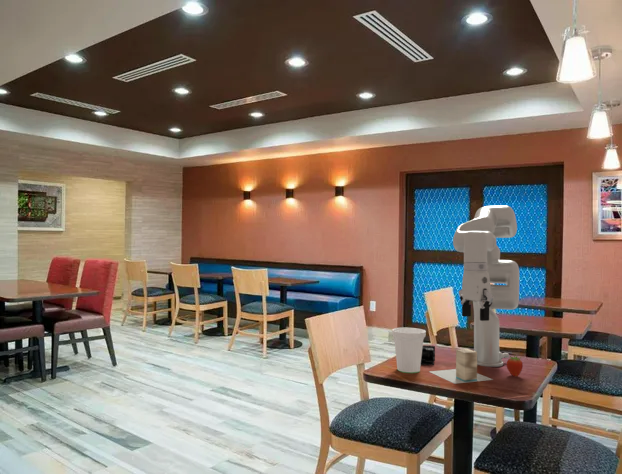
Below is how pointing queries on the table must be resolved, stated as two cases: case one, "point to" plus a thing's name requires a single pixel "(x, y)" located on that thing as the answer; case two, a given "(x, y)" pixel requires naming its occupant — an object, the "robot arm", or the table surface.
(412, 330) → the cup
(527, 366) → the table surface
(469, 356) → the beech block
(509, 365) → the fruit
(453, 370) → the mat
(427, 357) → the black box
